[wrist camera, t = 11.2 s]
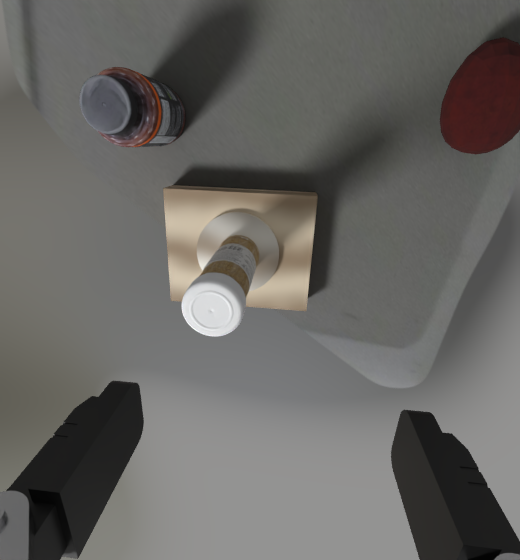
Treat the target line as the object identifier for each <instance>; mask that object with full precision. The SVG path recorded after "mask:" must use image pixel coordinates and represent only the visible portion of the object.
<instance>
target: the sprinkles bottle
mask: <svg viewBox="0 0 520 560" xmlns="http://www.w3.org/2000/svg"><path fill="white" fill-rule="evenodd" d="M258 262H259V250H258V247H257V246H256V244H255V243H254V242H253V241H252V240H251V239H249V238H248V237H246V236H242V235H234V236H230V237H228V238H227V239H226V240H224V241H223V242H222V243H221V245H220V247H219V249H218V250H217V251H216V252H215V253H214V255H213V256H212V258H211V259H210V260H209V262H208V263H207V264H206V266H205V267H204V269H203V271H202V273H201V275H200V276H199V277H198V278H196V279H195V280H194V281H193V282H192V283H191V285H190V286H189V287H188V289H187V291H186V292H185V294H184V296H183V299H182V312H183V315H184V318H185V319H186V321H187V323H188V324H189V325H190V326H191V327H192V328H193V329H194V330H196V331H197V332H199V333H201V334H204V335H207V336H222V335H226V334H228V333H230V332H232V331H233V330H234V329H235V328H237V326H238V325H239V324H240V322H241V320H242V317H243V314H244V311H245V308H246V297H247V295H248V292H249V289H250V286H251V283H252V279H253V276H254V273H255V270H256V266H257V265H258Z"/></svg>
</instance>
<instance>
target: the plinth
mask: <svg viewBox="0 0 520 560" xmlns="http://www.w3.org/2000/svg"><path fill="white" fill-rule="evenodd" d="M163 192H164V207H165V221H166V235H167V249H168V263H169V278H170V292H171V301H182V299H183V296H184V294H185V292H186V291H187V289H188V287H189V286H190V285H191V283H192V282H193V281H194V280H195V279H196V278H198V277H199V276H200V275H201V273H202V271H203V269H204V267H205V266H206V264H207V263H208V262H209V260H210V259H211V258H212V256H213V255H214V253H215V252H216V251H217V250H218V249H219V247H220V245H221V243H222V242H223V241H224V240H226V239H227V238H228V237H230V236H234V235H242V236H246V237H248V238H249V239H251V240H252V241H253V242H254V243H255V244H256V246H257V247H258V250H259V262H258V265H257V266H256V270H255V273H254V276H253V279H252V283H251V286H250V289H249V292H248V295H247V297H246V306H247V307H260V308H273V309H286V310H299V311H306V308H307V298H308V288H309V278H310V268H311V258H312V248H313V238H314V228H315V218H316V208H317V198H318V196H317V194H316V192H298V191H279V190H259V189H239V188H220V187H200V186H180V185H172V186H169V187H166V188H163Z"/></svg>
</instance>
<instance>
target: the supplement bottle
mask: <svg viewBox="0 0 520 560" xmlns="http://www.w3.org/2000/svg"><path fill="white" fill-rule="evenodd" d="M79 101H80V107H81V111H82V114H83V116H84V118H85V119H86V121H87V122H88V123H89V124H90V125H91V126H92V127H93V128H94V129H96V130H97V131H98V132H99V133H100V134H101V135H102V136H103V137H104V138H105V139H106V140H108V141H110V142H111V143H113V144H116V145H119V146H122V147H147V146H164V145H168V144H170V143H172V142H174V141H175V140H176V139H177V138H178V137H179V136H180V135H181V133H182V131H183V128H184V125H185V110H184V107H183V104H182V102H181V100H180V98H179V97H178V95H177V94H176V93H175V92H174V91H173V90H172V89H171V88H169V87H168V86H166V85H164V84H163V83H160V82H158V81H156V80H154V79H151V78H149V77H147V76H144V75H142V74H140V73H138V72H135V71H133V70H130V69H127V68H122V67H112V68H108V69H105V70H103V71H102V72H100V73H99V74H98V75H95V76H92V77H90V78H89V79H88V80H87V81H86V82H85V83H84V85H83V86H82V89H81V92H80V98H79Z"/></svg>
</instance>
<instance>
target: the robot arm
mask: <svg viewBox="0 0 520 560" xmlns="http://www.w3.org/2000/svg"><path fill="white" fill-rule="evenodd" d="M143 423H144V420H143V412H142V404H141V395H140V388H139V385H138V384H137V383H133V382H122V381H112V382H110V383H109V385H108V386H107V387H106V388H105V389H104V391H103V392H102V393H101V395H100V396H99V397H95V396H92V397H90V398H89V399H87V400H86V401H85V402H83V403H82V404H80V405H79V406H77V407H76V408H75V409H74V410H73V411H72V413H71V414H70V415H69V416H68V417H67V419H66V420H65V421H64V422H63V425H61V426H60V427H59V428H58V429H57V431H56V432H55V433H54V434H53V438H50V439H49V440H48V442H47V443H46V444H45V445H44V446H43V448H42V449H41V450H40V451H39V453H38V454H37V455H36V456H35V457H34V458H33V460H32V461H31V462H30V463H29V465H28V466H27V467H26V468H25V469H24V471H23V472H22V473H21V474H20V476H19V477H18V478H17V479H16V480H15V481H14V483H13V484H12V485H11V486H10V487H9V488H8V489H7V491H4V492H0V560H60V559H61V557H70V558H77V559H78V558H79V556H80V554H81V552H82V550H83V548H84V546H85V544H86V542H87V540H88V539H89V537H90V535H91V533H92V531H93V529H94V527H95V525H96V523H97V521H98V519H99V517H100V515H101V514H102V512H103V510H104V508H105V506H106V504H107V502H108V500H109V498H110V496H111V494H112V492H113V490H114V488H115V487H116V485H117V483H118V481H119V479H120V477H121V475H122V473H123V471H124V469H125V467H126V466H127V464H128V462H129V460H130V458H131V456H132V454H133V452H134V450H135V448H136V446H137V444H138V442H139V440H140V438H141V435H142V431H143ZM391 461H392V468H393V472H394V475H395V479H396V482H397V485H398V489H399V492H400V495H401V499H402V502H403V505H404V508H405V512H406V515H407V519H408V522H409V525H410V529H411V532H412V535H413V538H414V542H415V545H416V548H417V552H418V555H419V559H420V560H520V541H519V539H518V538H517V536H516V534H515V532H514V531H513V529H512V527H511V525H510V523H509V522H508V520H507V518H506V516H505V514H504V513H503V511H502V509H501V507H500V506H499V504H498V502H497V500H496V498H495V497H494V495H493V493H492V491H491V490H490V488H488V487H487V483H486V481H485V479H484V478H483V475H482V474H481V472H479V470H478V467H477V465H476V463H475V461H474V460H473V458H472V456H471V454H470V452H469V451H468V449H466V447H465V446H464V445H463V444H461V442H460V441H458V440H457V439H456V437H455V436H453V434H449V433H442V431H441V429H440V427H439V425H438V423H437V421H436V419H435V417H434V416H433V414H432V413H430V412H421V411H411V410H403V411H402V412H401V414H400V418H399V421H398V426H397V429H396V433H395V437H394V441H393V445H392V451H391Z"/></svg>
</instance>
